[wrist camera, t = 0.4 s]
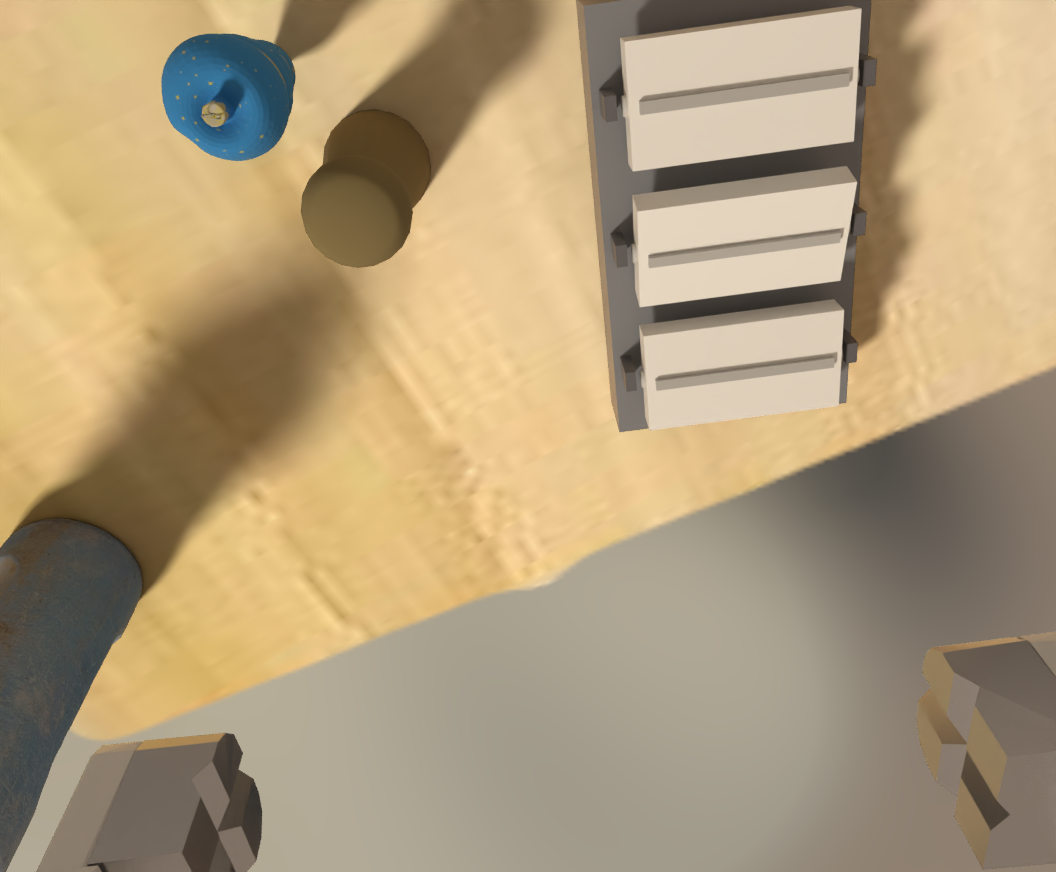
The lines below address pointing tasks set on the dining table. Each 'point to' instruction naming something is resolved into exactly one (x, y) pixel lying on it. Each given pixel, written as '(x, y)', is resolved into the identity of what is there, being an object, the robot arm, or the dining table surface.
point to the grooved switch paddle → (742, 364)
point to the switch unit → (690, 179)
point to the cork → (366, 189)
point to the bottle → (52, 648)
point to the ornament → (229, 94)
